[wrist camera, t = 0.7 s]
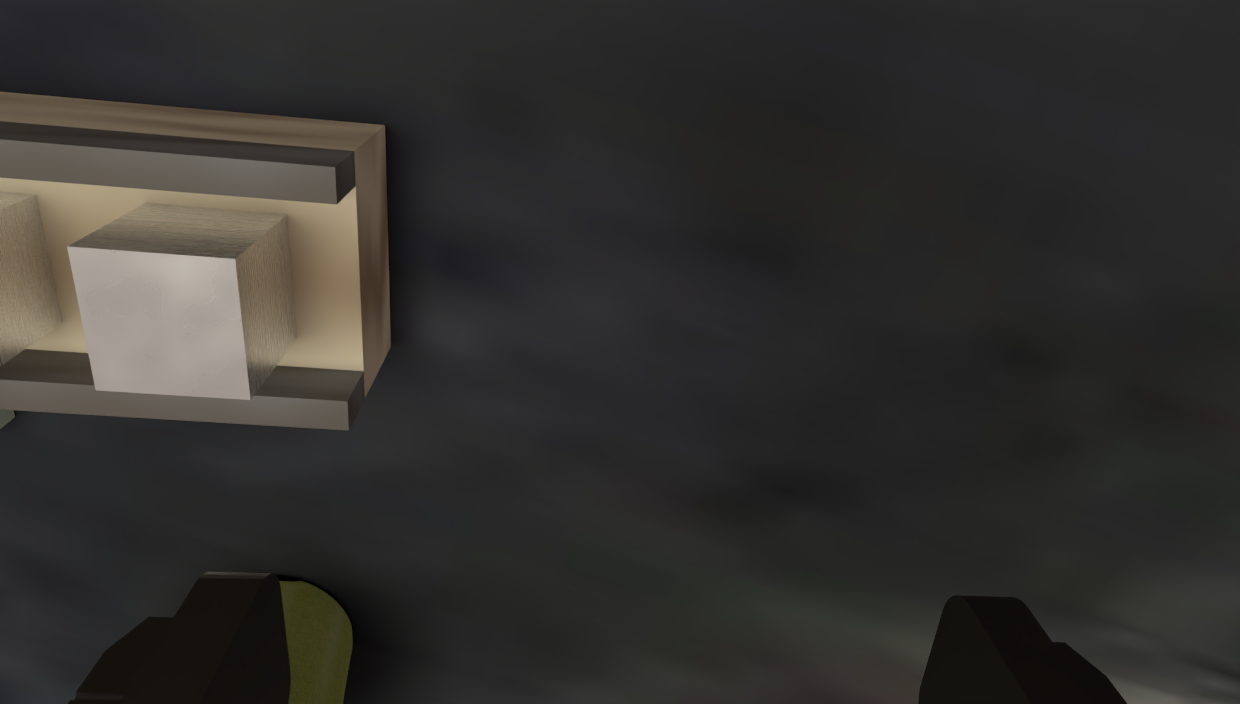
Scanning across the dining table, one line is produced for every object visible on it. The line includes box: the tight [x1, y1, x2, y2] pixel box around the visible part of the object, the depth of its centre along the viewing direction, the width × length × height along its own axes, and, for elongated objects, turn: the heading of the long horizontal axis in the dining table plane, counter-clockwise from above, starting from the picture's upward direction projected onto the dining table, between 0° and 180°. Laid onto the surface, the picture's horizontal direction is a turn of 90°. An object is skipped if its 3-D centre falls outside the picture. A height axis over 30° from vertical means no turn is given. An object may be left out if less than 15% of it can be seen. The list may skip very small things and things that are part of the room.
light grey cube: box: [67, 203, 297, 400], centre depth 23 cm, size 4×4×4 cm
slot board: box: [0, 92, 391, 430], centre depth 26 cm, size 8×14×6 cm, turn 85°
